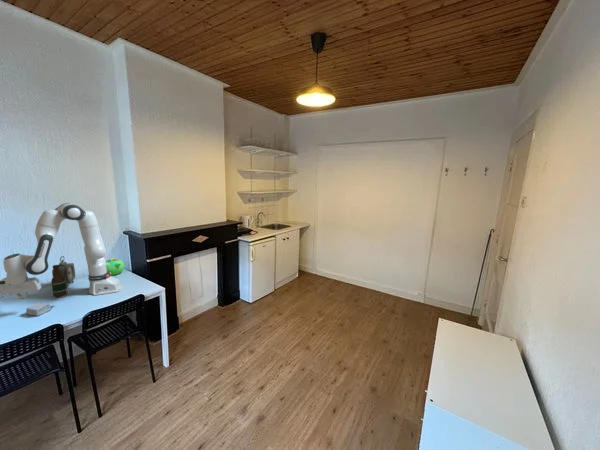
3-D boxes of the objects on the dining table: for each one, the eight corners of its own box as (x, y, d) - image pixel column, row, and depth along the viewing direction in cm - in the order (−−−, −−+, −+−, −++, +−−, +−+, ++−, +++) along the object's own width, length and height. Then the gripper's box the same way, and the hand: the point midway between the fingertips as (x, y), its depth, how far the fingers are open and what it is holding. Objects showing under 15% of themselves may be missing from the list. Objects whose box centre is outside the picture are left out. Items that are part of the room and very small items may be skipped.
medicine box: (26, 314, 165) (37, 316, 164) (25, 308, 164) (36, 310, 163) (41, 308, 173) (51, 310, 171) (40, 302, 172) (50, 304, 170)
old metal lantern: (69, 288, 201) (64, 259, 196) (54, 290, 198) (49, 260, 193) (76, 281, 214) (72, 253, 209) (62, 282, 211) (58, 254, 206)
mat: (55, 305, 177) (55, 305, 177) (47, 312, 168) (47, 312, 168) (40, 307, 174) (40, 306, 174) (31, 314, 166) (31, 313, 166)
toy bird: (126, 269, 243) (124, 255, 240) (124, 276, 228) (122, 260, 225) (102, 272, 234) (100, 257, 231) (99, 279, 219) (97, 263, 216)
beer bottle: (55, 298, 186) (50, 268, 181) (52, 295, 190) (46, 265, 185) (69, 294, 192) (64, 264, 187) (65, 292, 196) (60, 262, 191)
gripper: (41, 275, 170) (45, 294, 173) (1, 278, 164) (6, 298, 167) (34, 279, 164) (39, 298, 167) (-7, 282, 158) (-2, 302, 161)
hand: (22, 298), depth 167 cm, fingers closed
